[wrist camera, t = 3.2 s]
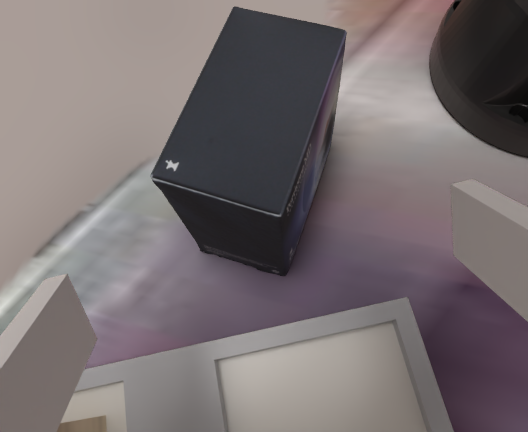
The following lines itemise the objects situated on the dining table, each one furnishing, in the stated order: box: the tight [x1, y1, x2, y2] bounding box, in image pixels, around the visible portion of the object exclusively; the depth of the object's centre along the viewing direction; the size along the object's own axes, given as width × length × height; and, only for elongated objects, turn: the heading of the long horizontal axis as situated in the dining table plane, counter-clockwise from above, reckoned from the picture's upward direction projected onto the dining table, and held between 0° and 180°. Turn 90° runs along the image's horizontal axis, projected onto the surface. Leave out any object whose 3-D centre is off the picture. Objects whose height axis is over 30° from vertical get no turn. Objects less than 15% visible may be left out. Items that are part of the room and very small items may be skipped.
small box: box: [151, 7, 347, 276], centre depth 24 cm, size 11×6×10 cm, turn 161°
